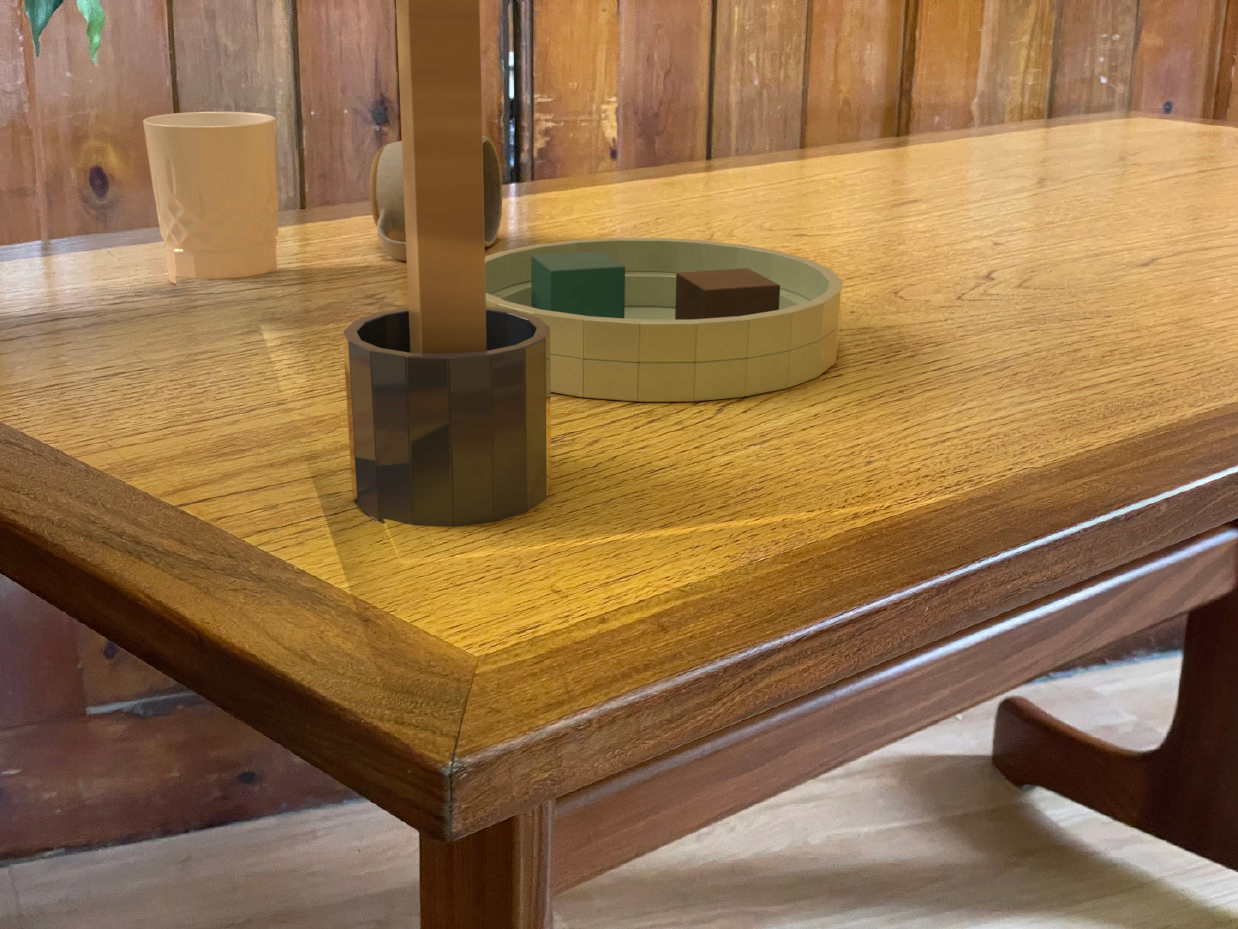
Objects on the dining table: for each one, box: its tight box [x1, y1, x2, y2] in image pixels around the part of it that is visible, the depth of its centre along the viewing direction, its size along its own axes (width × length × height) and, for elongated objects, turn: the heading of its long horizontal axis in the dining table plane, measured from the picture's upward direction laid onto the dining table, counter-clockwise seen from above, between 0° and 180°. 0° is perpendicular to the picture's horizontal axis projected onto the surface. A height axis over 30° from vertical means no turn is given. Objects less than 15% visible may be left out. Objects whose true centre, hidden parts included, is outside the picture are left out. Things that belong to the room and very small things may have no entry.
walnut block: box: [675, 268, 780, 320], centre depth 69 cm, size 4×4×4 cm
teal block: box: [531, 251, 625, 319], centre depth 73 cm, size 4×4×4 cm
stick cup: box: [342, 306, 552, 528], centre depth 51 cm, size 7×7×7 cm
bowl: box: [485, 237, 844, 403], centre depth 71 cm, size 19×19×4 cm
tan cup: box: [142, 111, 279, 285], centre depth 86 cm, size 8×8×10 cm
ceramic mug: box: [368, 135, 503, 262], centre depth 96 cm, size 11×8×8 cm
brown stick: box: [395, 0, 487, 354], centre depth 49 cm, size 2×2×20 cm
